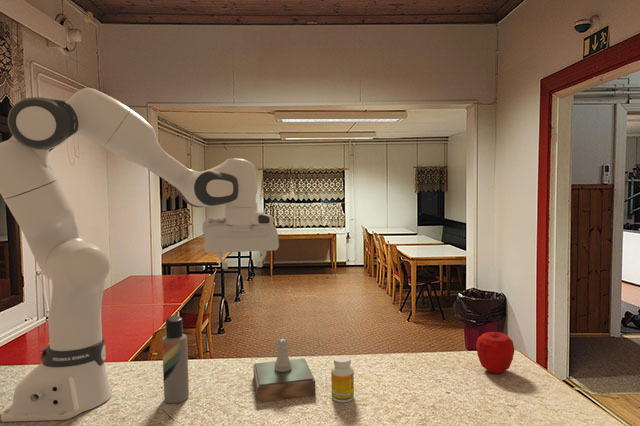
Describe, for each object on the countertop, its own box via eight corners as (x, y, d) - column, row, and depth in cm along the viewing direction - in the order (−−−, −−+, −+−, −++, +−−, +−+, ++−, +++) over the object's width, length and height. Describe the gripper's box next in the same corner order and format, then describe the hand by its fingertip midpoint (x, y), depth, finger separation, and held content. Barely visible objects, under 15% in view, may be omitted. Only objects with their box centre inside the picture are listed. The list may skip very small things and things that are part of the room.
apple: (485, 360, 124) (485, 323, 123) (519, 370, 117) (520, 330, 117) (469, 371, 117) (469, 332, 116) (505, 382, 110) (505, 340, 110)
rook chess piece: (283, 364, 114) (282, 334, 114) (295, 368, 111) (294, 338, 111) (270, 370, 111) (270, 339, 110) (283, 374, 108) (282, 343, 107)
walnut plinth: (257, 402, 102) (257, 385, 102) (253, 377, 116) (253, 362, 116) (315, 395, 105) (315, 379, 105) (304, 371, 119) (304, 357, 119)
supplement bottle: (330, 392, 106) (330, 354, 106) (352, 392, 106) (352, 354, 106) (332, 403, 101) (331, 363, 100) (355, 403, 101) (354, 362, 100)
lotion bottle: (182, 390, 109) (179, 312, 108) (193, 398, 105) (190, 316, 104) (160, 398, 105) (157, 317, 104) (170, 406, 101) (167, 322, 100)
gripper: (201, 219, 113) (203, 271, 114) (279, 217, 118) (280, 267, 119) (202, 218, 120) (204, 267, 120) (276, 216, 124) (277, 264, 125)
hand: (242, 267), depth 119 cm, fingers open, 8 cm apart
